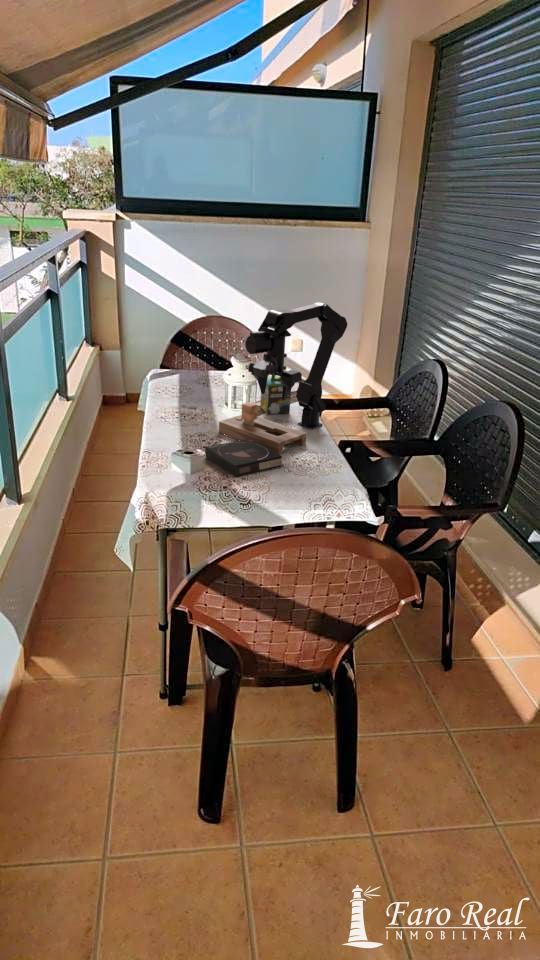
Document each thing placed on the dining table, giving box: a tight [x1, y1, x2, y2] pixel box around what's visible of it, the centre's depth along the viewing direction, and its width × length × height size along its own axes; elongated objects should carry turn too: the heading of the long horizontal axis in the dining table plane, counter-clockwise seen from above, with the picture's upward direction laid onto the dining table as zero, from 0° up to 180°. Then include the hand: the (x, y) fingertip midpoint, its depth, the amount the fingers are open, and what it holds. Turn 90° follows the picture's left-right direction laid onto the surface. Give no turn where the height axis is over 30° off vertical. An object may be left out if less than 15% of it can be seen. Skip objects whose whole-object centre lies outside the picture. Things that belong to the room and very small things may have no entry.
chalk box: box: [260, 372, 292, 415], centre depth 249 cm, size 9×9×15 cm
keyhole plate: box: [218, 414, 307, 455], centre depth 222 cm, size 14×26×4 cm, turn 50°
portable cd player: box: [204, 439, 283, 478], centre depth 202 cm, size 16×17×4 cm
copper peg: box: [241, 401, 258, 426], centre depth 224 cm, size 4×4×10 cm
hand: (273, 397), depth 223 cm, fingers open, 9 cm apart
